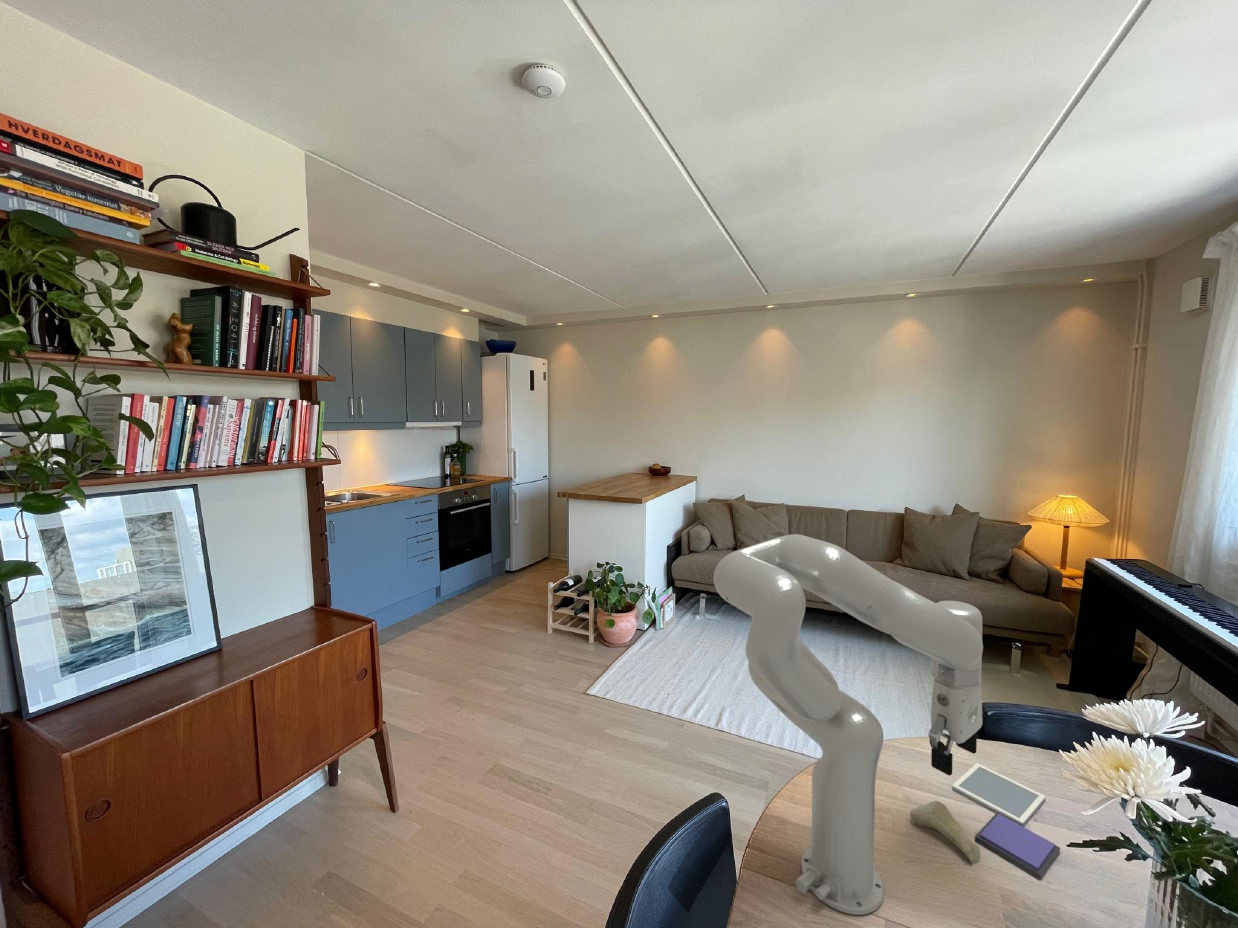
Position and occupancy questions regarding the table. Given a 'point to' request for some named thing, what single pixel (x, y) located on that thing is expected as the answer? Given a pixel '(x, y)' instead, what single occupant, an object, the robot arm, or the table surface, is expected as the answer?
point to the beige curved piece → (945, 827)
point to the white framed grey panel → (999, 794)
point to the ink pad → (1018, 845)
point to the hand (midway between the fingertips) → (954, 759)
